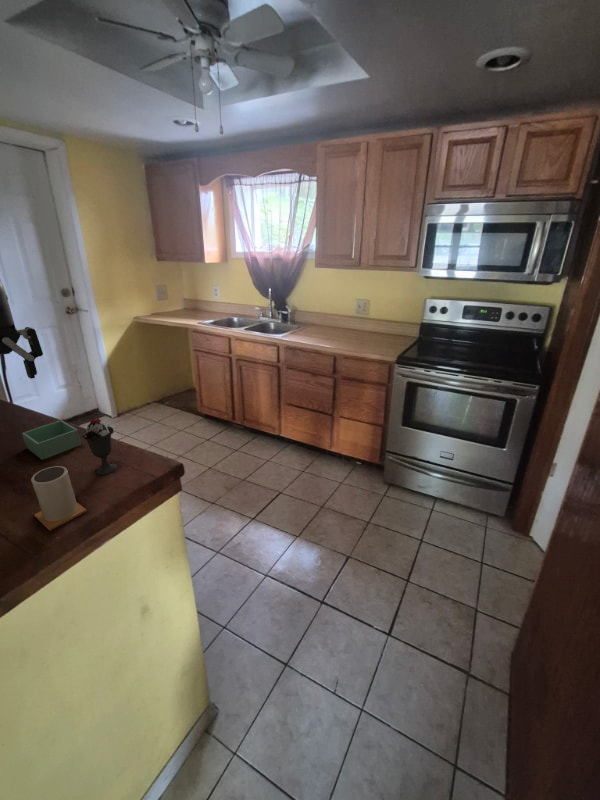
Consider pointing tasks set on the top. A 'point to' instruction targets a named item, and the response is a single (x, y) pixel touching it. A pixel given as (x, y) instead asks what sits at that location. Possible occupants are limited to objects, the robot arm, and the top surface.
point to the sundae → (100, 443)
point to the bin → (51, 439)
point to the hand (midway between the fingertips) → (7, 383)
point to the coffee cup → (54, 493)
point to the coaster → (52, 525)
